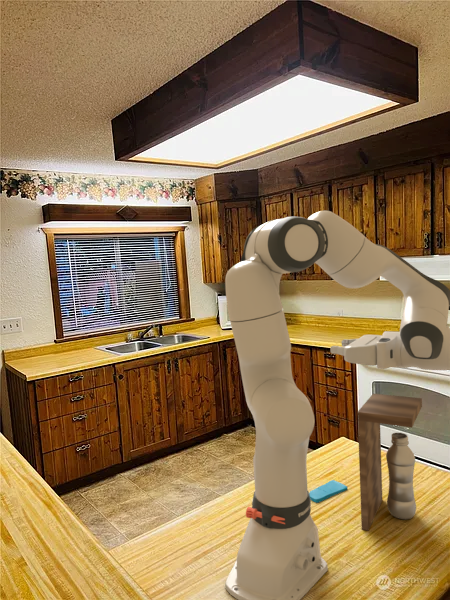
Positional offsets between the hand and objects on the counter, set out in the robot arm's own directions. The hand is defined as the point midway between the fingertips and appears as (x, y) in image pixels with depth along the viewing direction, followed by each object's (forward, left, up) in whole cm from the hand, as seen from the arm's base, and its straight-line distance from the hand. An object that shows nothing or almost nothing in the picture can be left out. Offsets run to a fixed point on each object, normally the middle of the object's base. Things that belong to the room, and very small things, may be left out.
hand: (336, 346), depth 119 cm
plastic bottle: (-6, -16, -40) cm, 44 cm away
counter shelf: (-8, -15, -40) cm, 43 cm away
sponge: (-3, +4, -40) cm, 41 cm away
